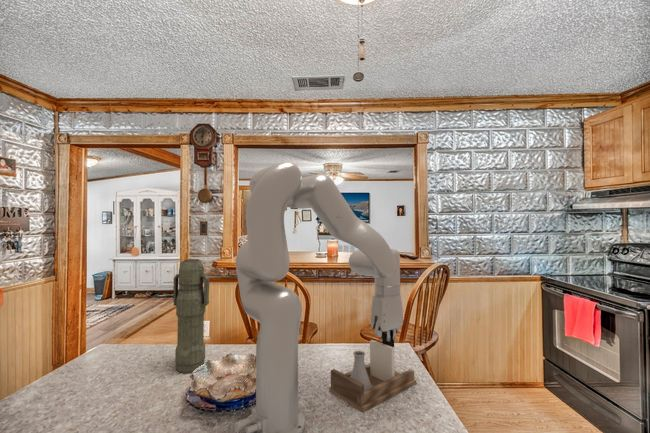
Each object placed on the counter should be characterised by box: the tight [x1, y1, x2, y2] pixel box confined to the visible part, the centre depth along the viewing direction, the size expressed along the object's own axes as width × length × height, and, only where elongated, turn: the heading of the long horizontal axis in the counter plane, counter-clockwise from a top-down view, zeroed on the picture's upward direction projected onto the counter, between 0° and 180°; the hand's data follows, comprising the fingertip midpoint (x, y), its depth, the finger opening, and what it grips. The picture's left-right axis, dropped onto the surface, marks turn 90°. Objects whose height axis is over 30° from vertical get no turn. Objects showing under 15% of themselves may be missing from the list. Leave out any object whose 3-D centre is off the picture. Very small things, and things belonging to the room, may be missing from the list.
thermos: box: [172, 258, 210, 375], centre depth 102 cm, size 9×12×35 cm
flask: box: [350, 350, 372, 391], centre depth 85 cm, size 7×7×10 cm
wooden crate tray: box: [328, 363, 417, 413], centre depth 88 cm, size 22×13×6 cm, turn 129°
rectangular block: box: [369, 339, 396, 382], centre depth 90 cm, size 1×8×10 cm, turn 39°
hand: (388, 352), depth 92 cm, fingers closed
